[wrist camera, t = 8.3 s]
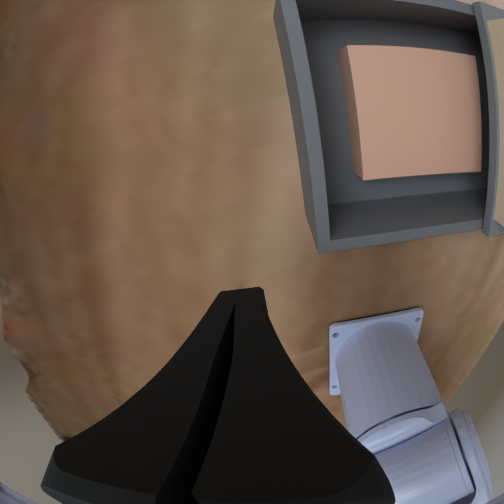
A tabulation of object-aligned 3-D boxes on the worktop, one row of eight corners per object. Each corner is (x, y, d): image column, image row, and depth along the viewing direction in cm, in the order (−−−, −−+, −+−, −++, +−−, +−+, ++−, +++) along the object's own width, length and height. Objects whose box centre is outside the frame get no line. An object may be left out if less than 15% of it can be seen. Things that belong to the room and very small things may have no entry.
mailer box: (487, 193, 17) (529, 221, 13) (305, 213, 19) (318, 253, 14) (478, 29, 11) (526, 24, 7) (273, 17, 13) (277, -12, 9)
